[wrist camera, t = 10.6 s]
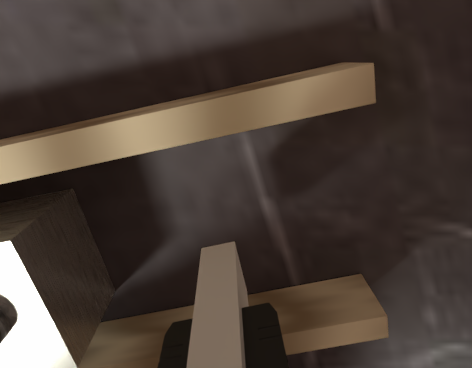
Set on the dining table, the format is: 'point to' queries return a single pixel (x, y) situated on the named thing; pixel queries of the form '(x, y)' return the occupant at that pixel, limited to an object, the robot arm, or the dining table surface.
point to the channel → (198, 129)
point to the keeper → (49, 282)
